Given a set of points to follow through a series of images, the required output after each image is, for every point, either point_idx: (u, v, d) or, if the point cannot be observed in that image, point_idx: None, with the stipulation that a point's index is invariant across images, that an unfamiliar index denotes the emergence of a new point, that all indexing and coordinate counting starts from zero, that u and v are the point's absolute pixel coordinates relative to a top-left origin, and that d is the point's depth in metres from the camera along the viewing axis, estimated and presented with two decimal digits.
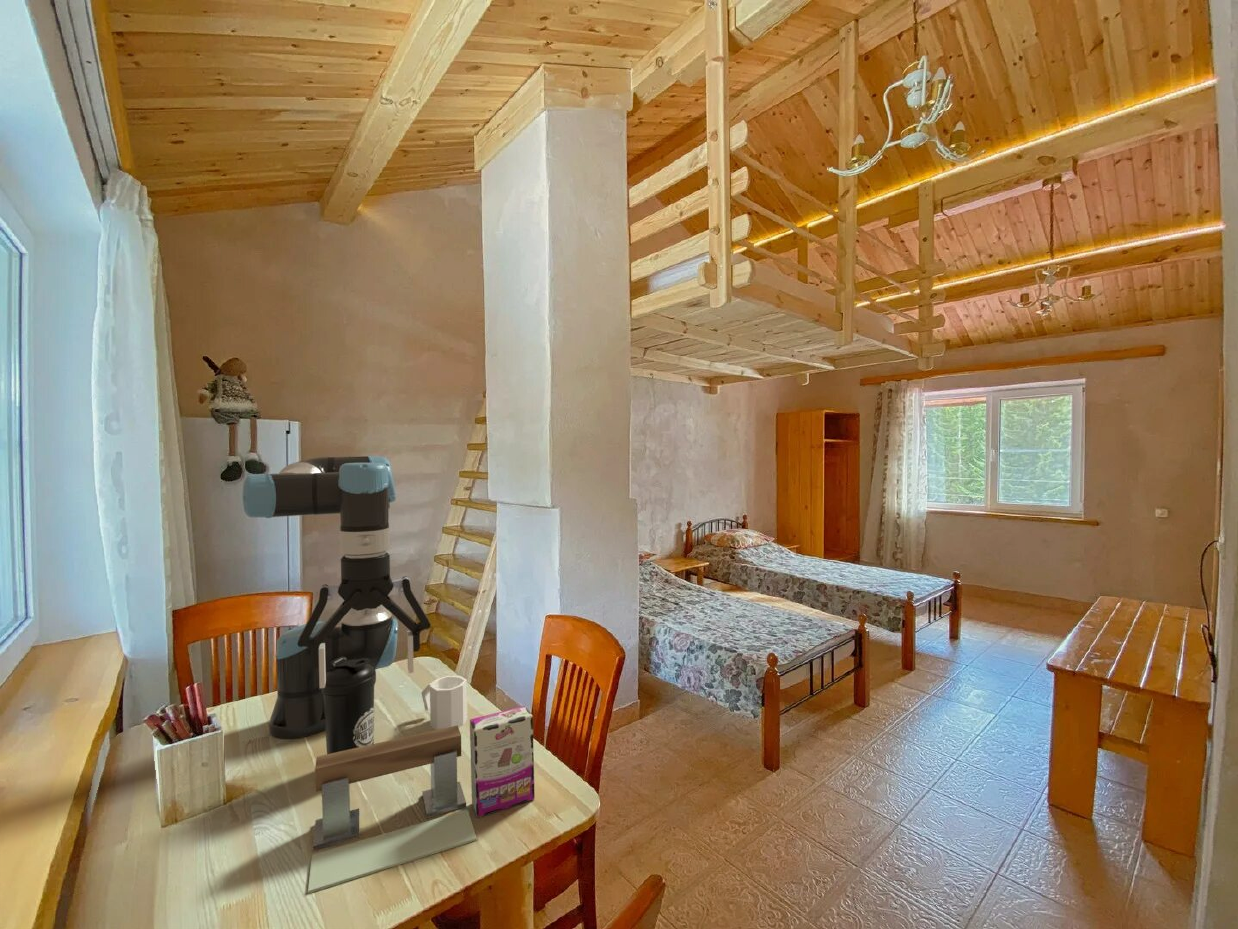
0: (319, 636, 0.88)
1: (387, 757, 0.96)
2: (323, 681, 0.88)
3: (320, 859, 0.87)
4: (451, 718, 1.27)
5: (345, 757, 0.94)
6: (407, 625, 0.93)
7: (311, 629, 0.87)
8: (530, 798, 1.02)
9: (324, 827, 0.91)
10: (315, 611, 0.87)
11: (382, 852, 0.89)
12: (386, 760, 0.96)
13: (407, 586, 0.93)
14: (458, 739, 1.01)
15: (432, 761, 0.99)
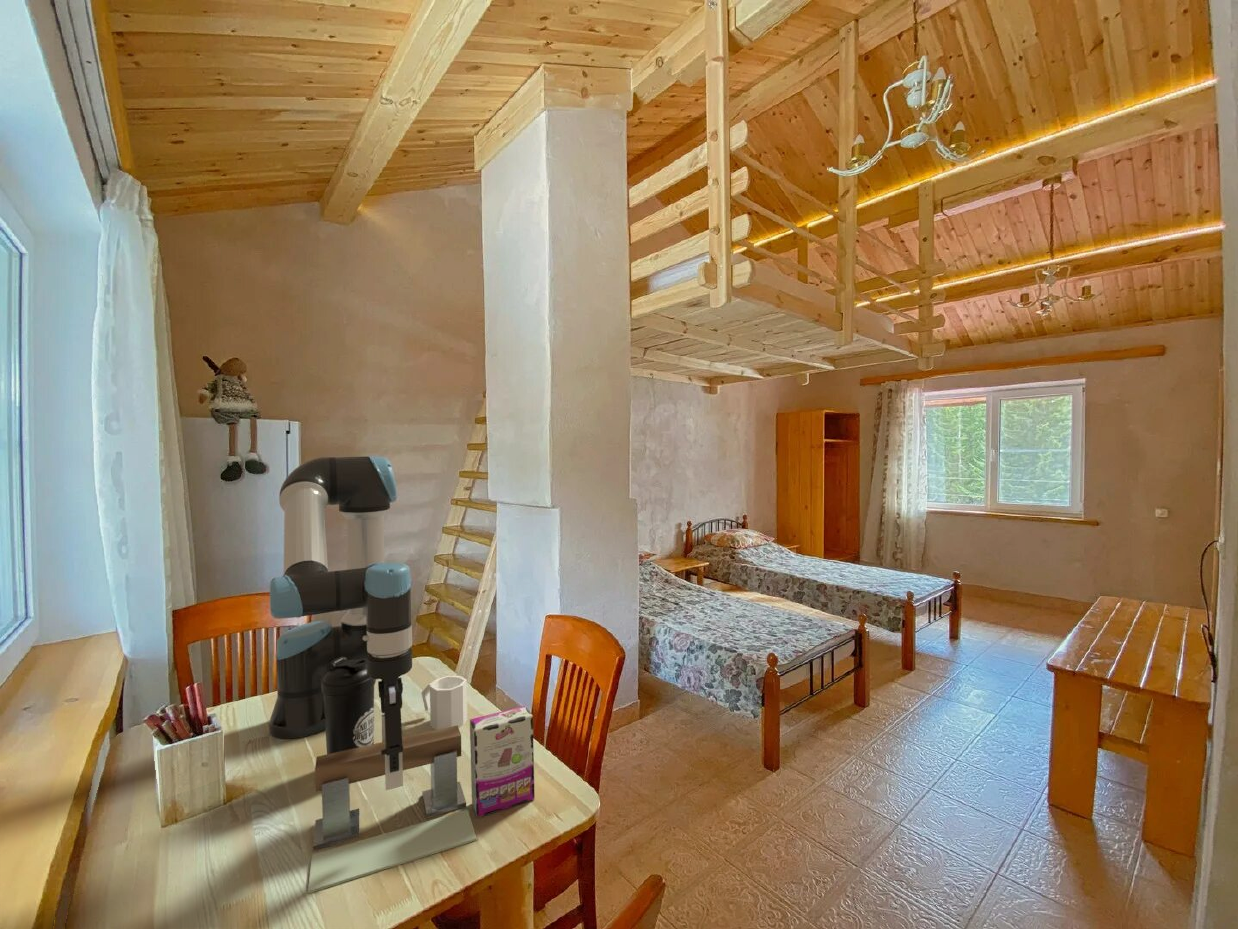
0: None
1: None
2: None
3: (320, 859, 0.87)
4: (451, 718, 1.27)
5: (345, 757, 0.94)
6: (385, 739, 0.91)
7: None
8: (530, 798, 1.02)
9: (324, 827, 0.91)
10: None
11: (382, 852, 0.89)
12: None
13: (384, 700, 0.91)
14: (458, 739, 1.01)
15: (432, 761, 0.99)
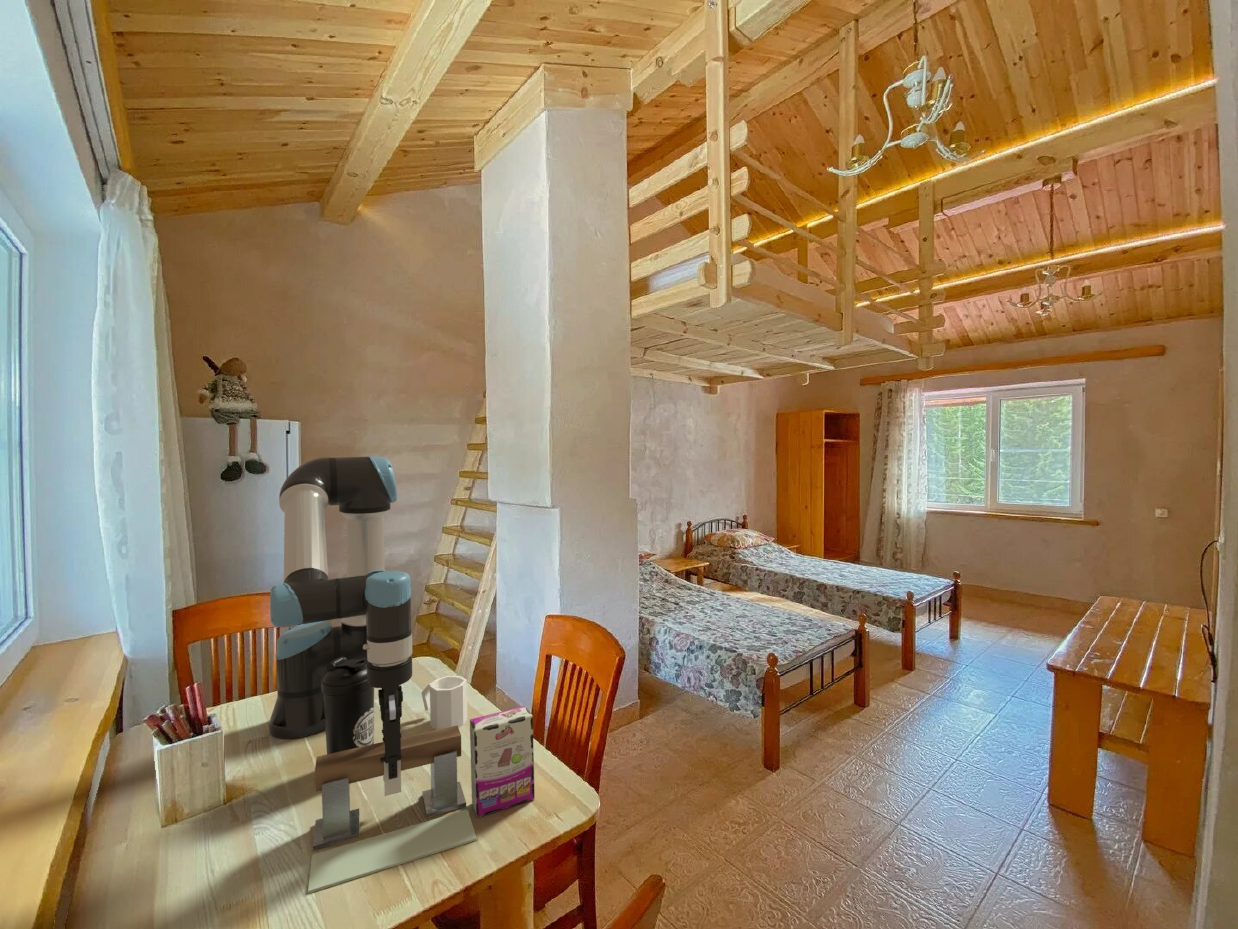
0: None
1: None
2: (383, 775, 0.99)
3: (320, 859, 0.87)
4: (451, 718, 1.27)
5: (345, 757, 0.94)
6: None
7: None
8: (530, 798, 1.02)
9: (324, 827, 0.91)
10: None
11: (382, 852, 0.89)
12: None
13: (384, 717, 0.92)
14: (458, 739, 1.01)
15: (432, 761, 0.99)
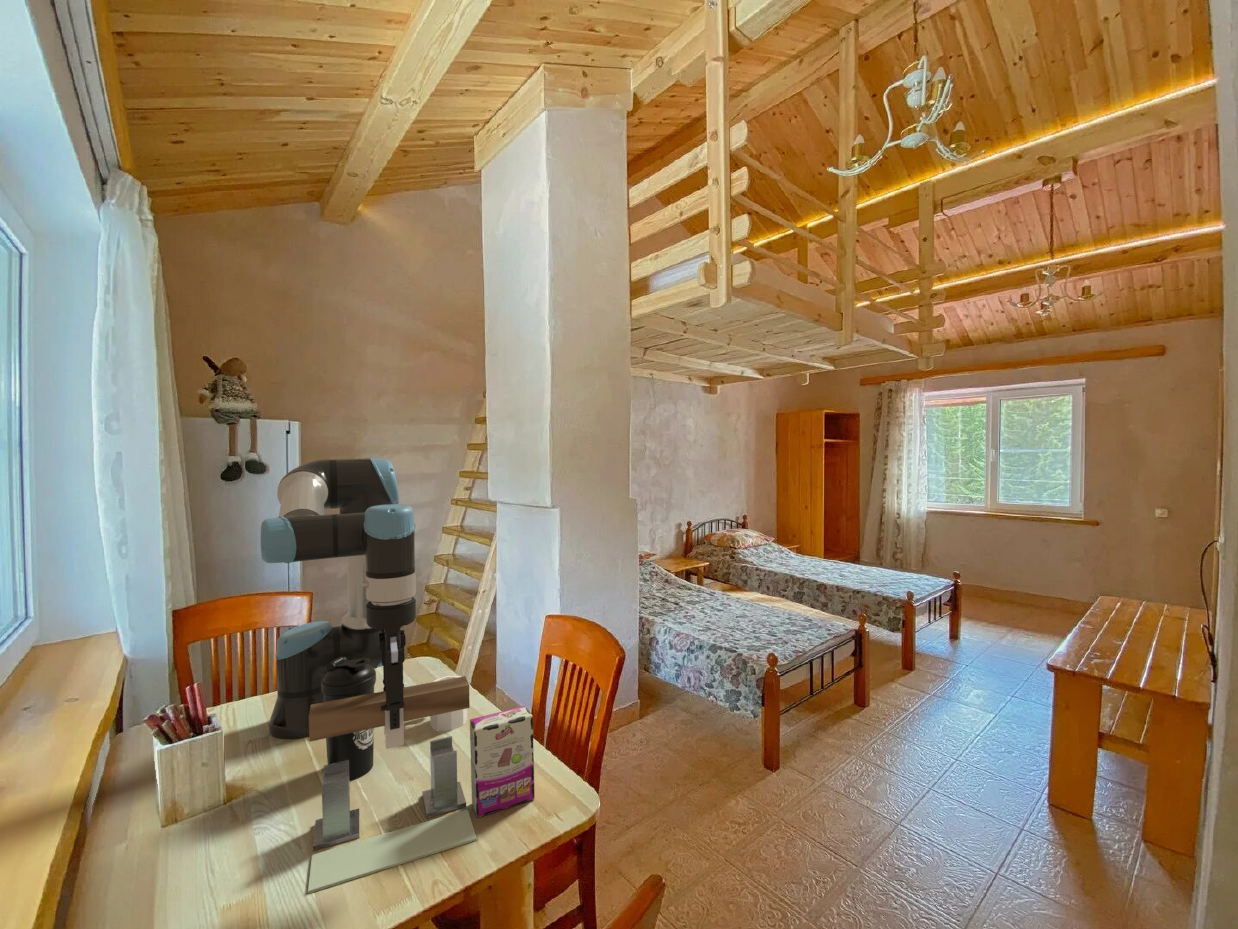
0: None
1: None
2: (384, 727, 0.91)
3: (320, 859, 0.87)
4: (451, 718, 1.27)
5: (342, 705, 0.86)
6: None
7: (383, 668, 0.93)
8: (530, 798, 1.02)
9: (324, 827, 0.91)
10: None
11: (382, 852, 0.89)
12: None
13: (386, 659, 0.83)
14: (466, 689, 0.93)
15: (438, 712, 0.91)
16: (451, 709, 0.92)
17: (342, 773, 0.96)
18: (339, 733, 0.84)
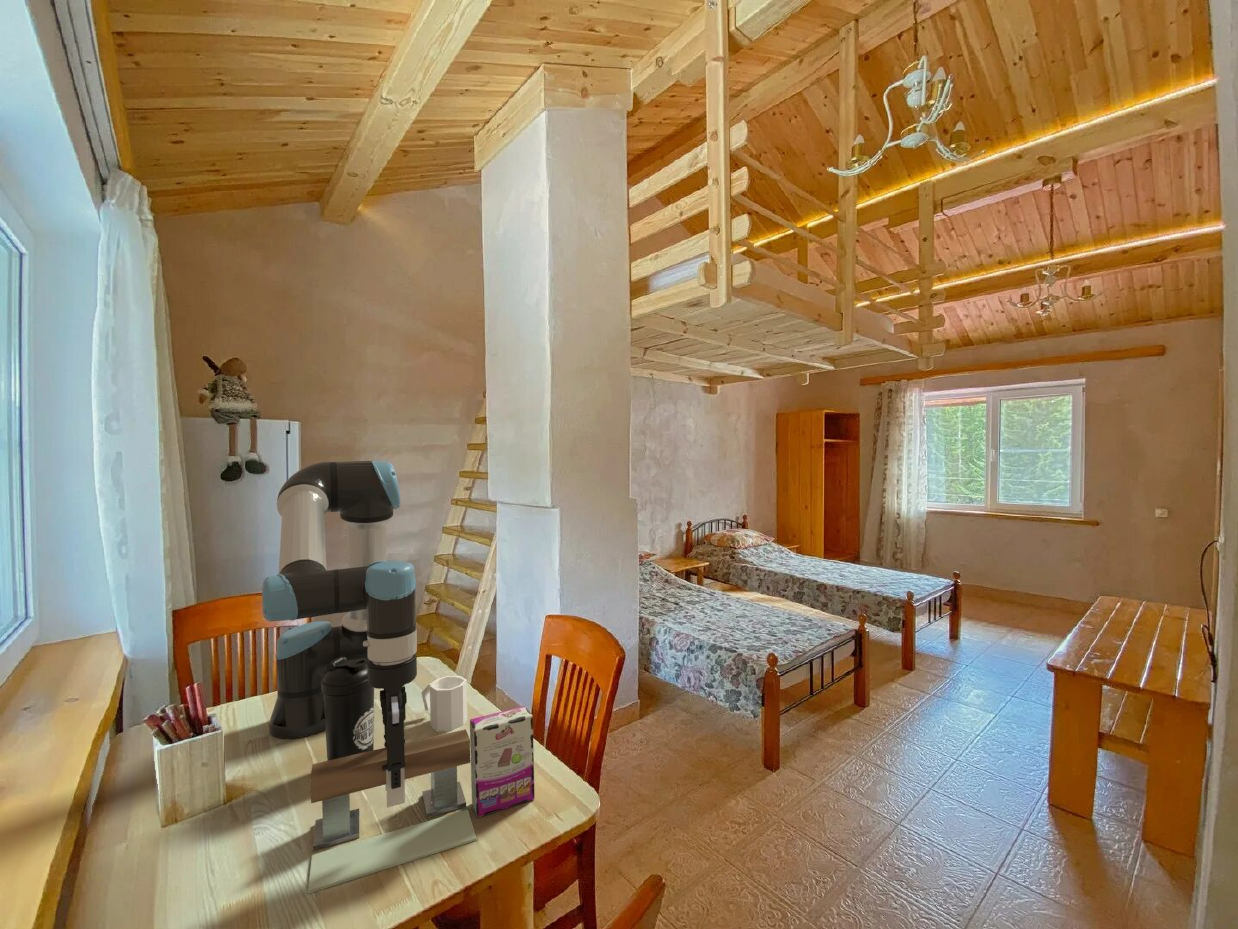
0: None
1: None
2: (385, 784, 0.91)
3: (320, 859, 0.87)
4: (451, 718, 1.27)
5: (343, 765, 0.86)
6: None
7: None
8: (530, 798, 1.02)
9: (324, 827, 0.91)
10: None
11: (382, 852, 0.89)
12: None
13: (387, 721, 0.83)
14: (467, 744, 0.93)
15: (438, 768, 0.91)
16: (452, 765, 0.92)
17: None
18: (340, 794, 0.84)
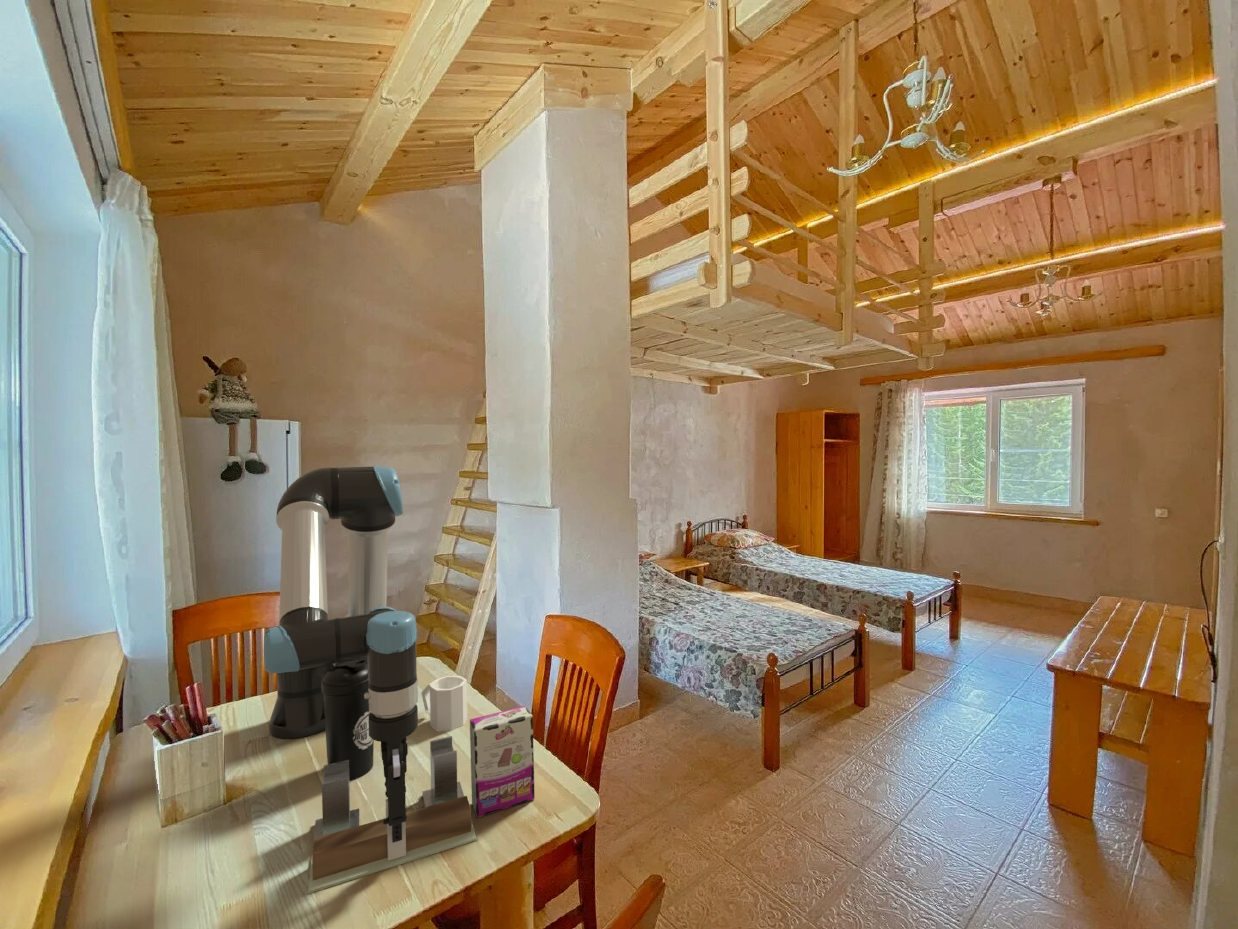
0: None
1: None
2: None
3: None
4: (451, 718, 1.27)
5: (345, 839, 0.86)
6: None
7: None
8: (530, 798, 1.02)
9: (324, 827, 0.91)
10: None
11: None
12: None
13: (388, 775, 0.84)
14: (467, 813, 0.93)
15: (439, 839, 0.91)
16: (453, 835, 0.92)
17: (342, 773, 0.96)
18: (342, 869, 0.85)
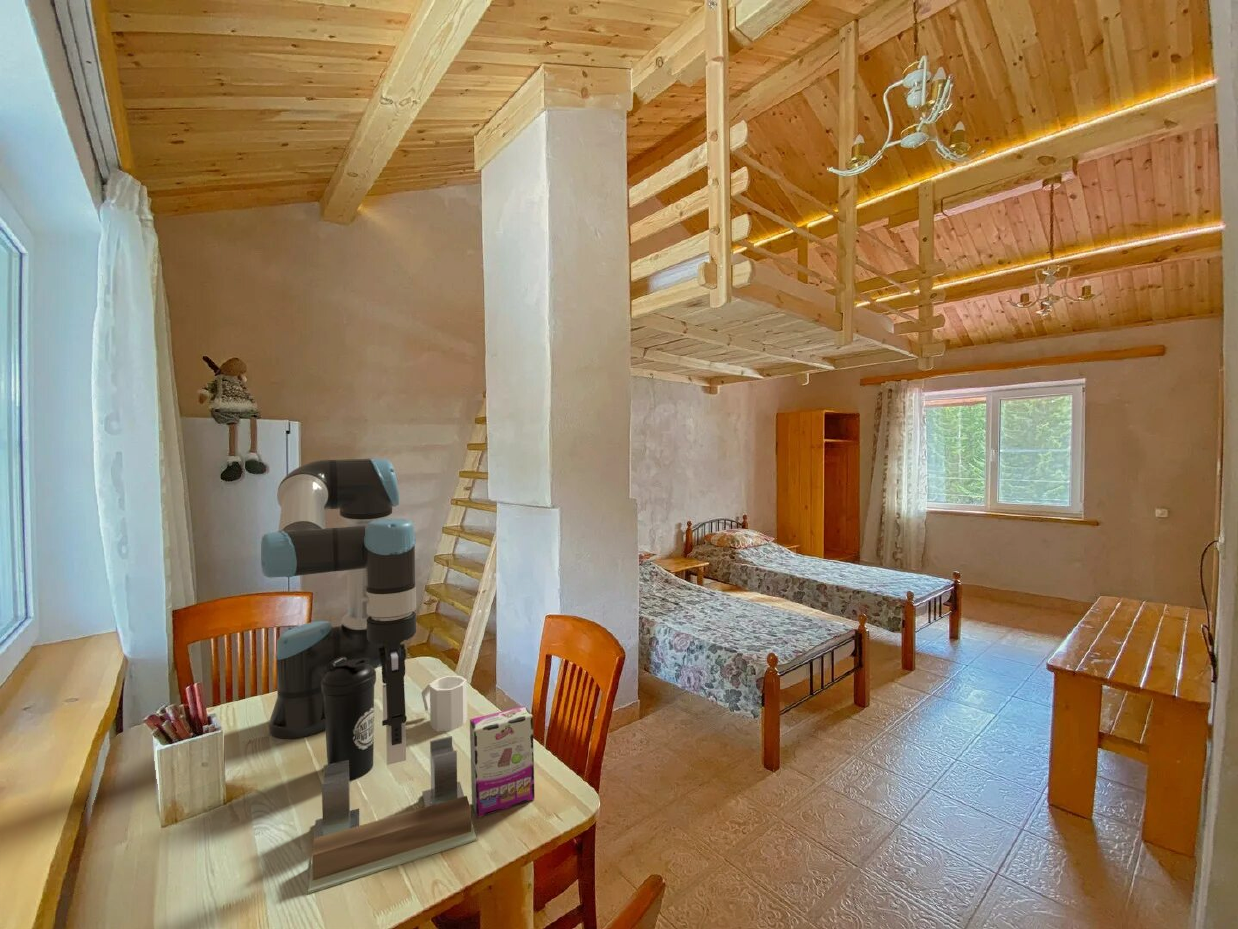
0: None
1: (391, 838, 0.88)
2: (383, 717, 0.95)
3: None
4: (451, 718, 1.27)
5: (345, 839, 0.86)
6: None
7: None
8: (530, 798, 1.02)
9: (324, 827, 0.91)
10: None
11: None
12: (390, 841, 0.88)
13: (386, 666, 0.83)
14: (467, 813, 0.93)
15: (439, 839, 0.91)
16: (453, 835, 0.92)
17: (342, 773, 0.96)
18: (342, 869, 0.85)
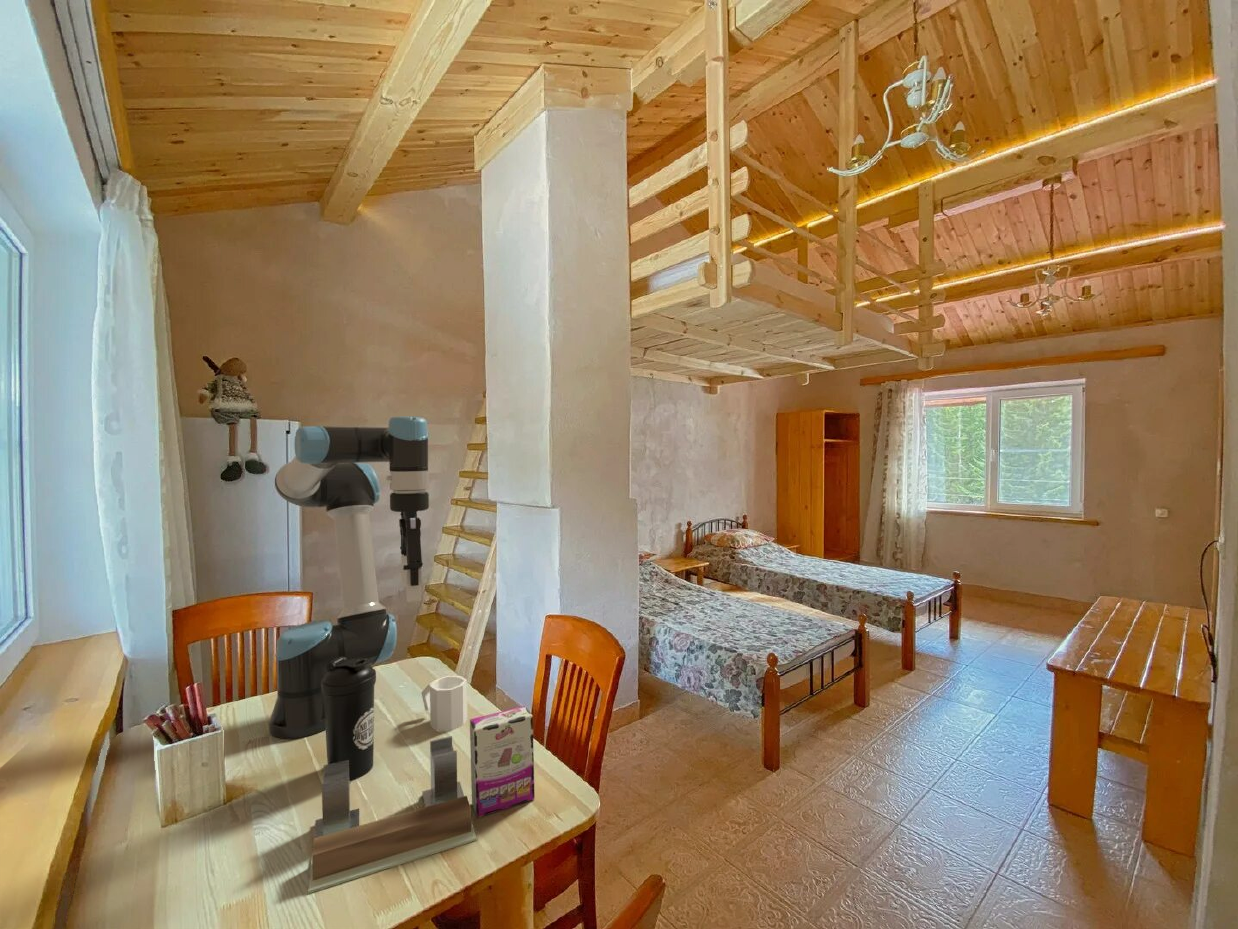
0: None
1: (391, 838, 0.88)
2: None
3: None
4: (451, 718, 1.27)
5: (345, 839, 0.86)
6: None
7: (401, 540, 1.19)
8: (530, 798, 1.02)
9: (324, 827, 0.91)
10: None
11: None
12: (390, 841, 0.88)
13: (406, 525, 1.06)
14: (467, 813, 0.93)
15: (439, 839, 0.91)
16: (453, 835, 0.92)
17: (342, 773, 0.96)
18: (342, 869, 0.85)
